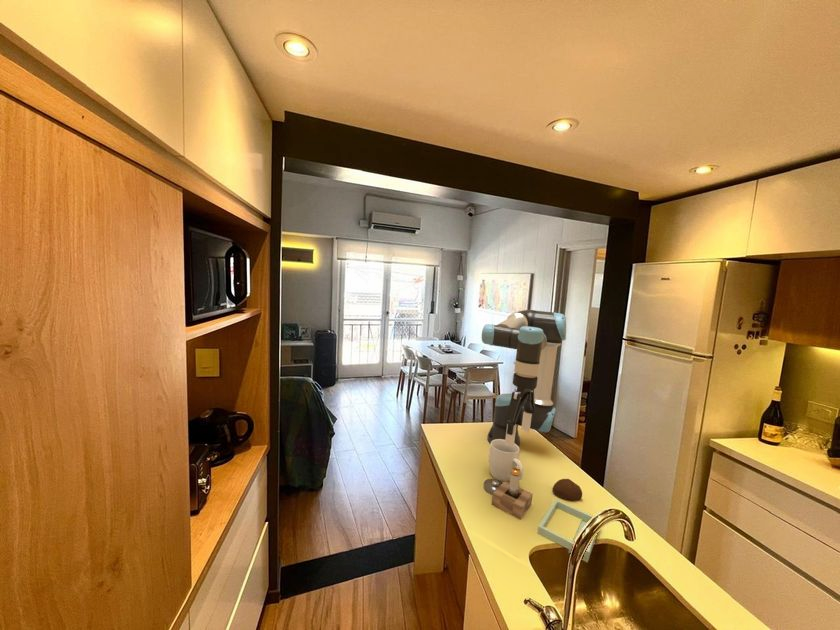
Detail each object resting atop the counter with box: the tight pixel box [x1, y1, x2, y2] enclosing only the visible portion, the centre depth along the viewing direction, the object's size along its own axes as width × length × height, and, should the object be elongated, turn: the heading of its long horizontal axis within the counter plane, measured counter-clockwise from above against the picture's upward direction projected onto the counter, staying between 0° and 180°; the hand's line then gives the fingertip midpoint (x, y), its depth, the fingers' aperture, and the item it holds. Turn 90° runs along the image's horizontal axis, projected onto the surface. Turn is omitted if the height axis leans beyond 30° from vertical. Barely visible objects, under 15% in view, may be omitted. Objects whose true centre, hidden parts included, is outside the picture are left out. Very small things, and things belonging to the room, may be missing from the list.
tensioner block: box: [491, 481, 533, 520], centre depth 113 cm, size 10×10×5 cm
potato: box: [552, 478, 583, 501], centre depth 121 cm, size 7×10×7 cm
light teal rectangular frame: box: [537, 498, 598, 563], centre depth 104 cm, size 18×14×3 cm
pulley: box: [483, 478, 504, 496], centre depth 121 cm, size 8×8×4 cm
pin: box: [508, 467, 521, 499], centre depth 112 cm, size 3×3×12 cm
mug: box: [488, 439, 524, 482], centre depth 128 cm, size 15×11×13 cm
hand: (517, 437), depth 111 cm, fingers open, 13 cm apart
